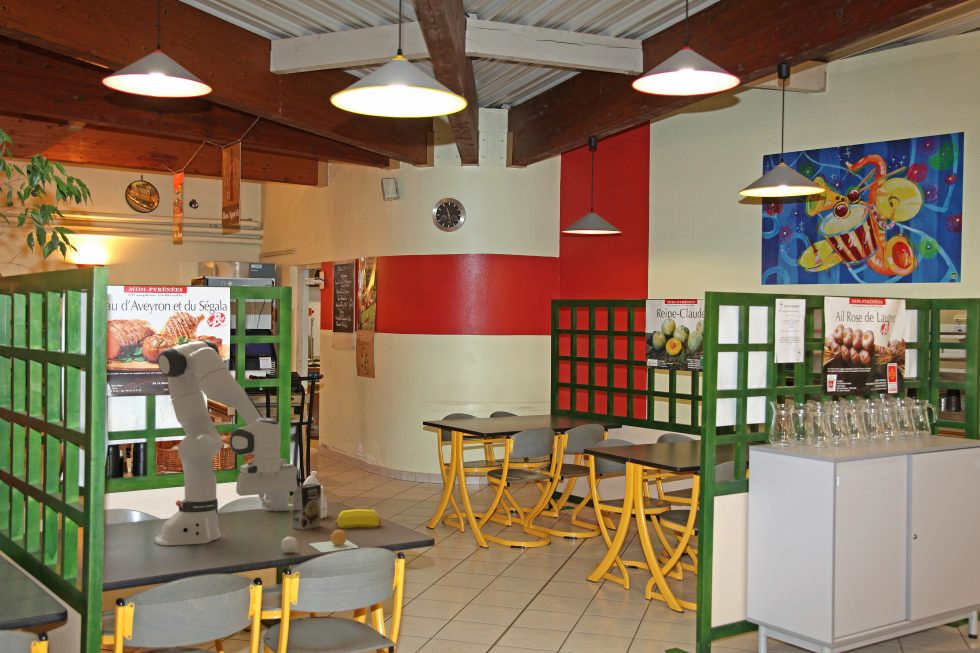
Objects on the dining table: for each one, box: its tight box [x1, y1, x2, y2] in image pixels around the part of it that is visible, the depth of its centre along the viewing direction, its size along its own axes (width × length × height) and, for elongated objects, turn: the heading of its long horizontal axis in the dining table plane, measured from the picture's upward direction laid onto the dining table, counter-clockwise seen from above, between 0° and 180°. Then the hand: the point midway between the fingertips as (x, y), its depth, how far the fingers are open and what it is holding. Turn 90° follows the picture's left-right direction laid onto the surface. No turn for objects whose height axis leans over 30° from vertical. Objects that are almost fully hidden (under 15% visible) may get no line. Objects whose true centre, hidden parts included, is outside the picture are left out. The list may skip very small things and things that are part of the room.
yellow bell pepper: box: [334, 508, 382, 529], centre depth 349 cm, size 18×7×8 cm
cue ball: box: [280, 536, 299, 554], centre depth 306 cm, size 6×6×6 cm
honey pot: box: [302, 470, 328, 519], centre depth 367 cm, size 13×13×18 cm
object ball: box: [330, 529, 347, 546], centre depth 318 cm, size 6×6×6 cm
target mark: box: [308, 539, 359, 554], centre depth 316 cm, size 14×14×1 cm
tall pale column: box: [264, 458, 290, 512], centre depth 378 cm, size 11×4×22 cm, turn 96°
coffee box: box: [292, 484, 322, 531], centre depth 347 cm, size 9×6×16 cm
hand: (267, 506), depth 305 cm, fingers closed
